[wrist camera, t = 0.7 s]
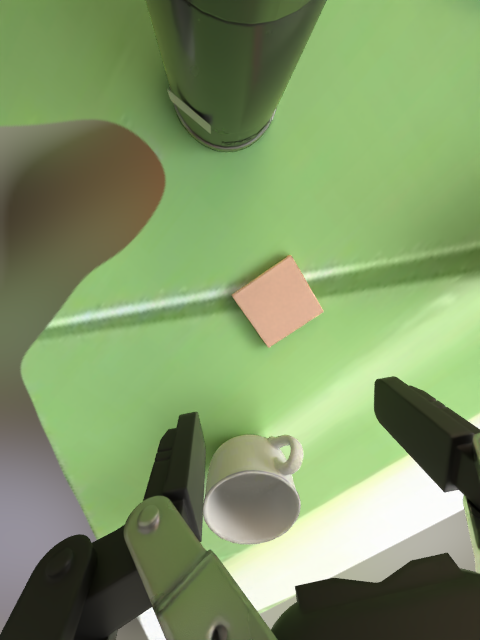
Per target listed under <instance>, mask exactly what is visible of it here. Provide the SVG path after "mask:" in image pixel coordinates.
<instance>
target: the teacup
mask: <svg viewBox="0 0 480 640" xmlns="http://www.w3.org/2000/svg"><path fill="white" fill-rule="evenodd" d="M286 445H290V446H291V453H290V456H289V459H288V460H286V458H285V456H284V454H283V452H282V451H281V449H280V448H281V447H283V446H286ZM302 461H303V448H302V445H301V443H300V442H299V441H298V440H297V439H296V438H294V437H292V436H289V435H282V436H278V437H273V436H271V437H269V438H268V439H267V438H265V437H262V436H259V435H251V434H249V435H240V436H236V437H233V438H231V439H229V440H227V441H226V442H225V443H223V444H222V445H221V446H220V447H219V448H218V449H217V450H216V452H215V453H214V455H213V457H212V459H211V462H210V465H209V469H208V475H207V483H206V493H205V499H204V503H203V516H204V520H205V522H206V524H207V525H208V527H209V528H210V529H211V530H212V531H213V532H214V533H215V534H216V535H218V536H219V537H220V538H222V539H225V540H227V541H230V542H233V543H238V544H258V543H263V542H268V541H270V540H273V539H275V538H277V537H279V536H281V535H283V534H284V533H286V532H287V531H288V530H289V529H290V528H291V527H292V526H293V524H294V523H295V522H296V520H297V518H298V516H299V513H300V506H301V505H300V498H299V495H298V492H297V491H296V489H295V485H294V481H293V478H292V475H291V474H293V473H295V472H296V471H297V470H298V469H299V468H300V466H301V464H302Z"/></svg>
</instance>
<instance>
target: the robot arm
mask: <svg viewBox="0 0 480 640" xmlns="http://www.w3.org/2000/svg"><path fill="white" fill-rule="evenodd" d="M145 1H146V5H147V8H148V12H149V16H150V19H151V23H152V26H153V30H154V33H155V37H156V40H157V44H158V47H159V51H160V54H161V58H162V61H163V65H164V68H165V72H166V76H167V79H168V83H169V88H170V91H169V90H168V89H167V91H168V94H169V97H170V100H171V101H172V102H173V104H174V107H175V110H176V113H177V115H178V117H179V119H180V121H181V123H182V124H183V126H184V127H185V129H186V130H187V131H188V132H189V133H190V134H191V136H192V137H193V138H195V139H196V140H197V141H198V142H200V143H201V144H203V145H204V146H206V147H208V148H210V149H213V150H217V151H222V152H233V151H238V150H242V149H244V148H247V147H249V146H250V145H252V144H253V143H255V142H256V141H257V140H258V139H259V138H260V137H261V136H262V135H263V134H264V133H265V131H266V130H267V128H268V127H269V125H270V123H271V121H272V119H273V116H274V114H275V111H276V109H277V105H278V103H279V101H280V99H281V97H282V95H283V93H284V91H285V89H286V86H287V84H288V82H289V80H290V78H291V76H292V74H293V71H294V69H295V67H296V65H297V63H298V61H299V59H300V56H301V54H302V52H303V50H304V48H305V46H306V44H307V41H308V39H309V37H310V35H311V33H312V31H313V29H314V26H315V24H316V22H317V20H318V18H319V16H320V14H321V11H322V9H323V7H324V5H325V3H326V1H327V0H145ZM374 411H375V415H376V417H377V419H378V421H379V422H380V424H381V425H382V426H383V427H384V428H385V429H386V430H387V431H388V432H389V433H390V434H391V435H392V437H393V438H394V439H395V440H396V441H397V442H398V443H399V444H400V445H401V446H402V447H403V448H404V449H405V451H406V452H407V453H408V454H409V455H410V456H411V457H412V458H413V459H414V460H415V461H416V462H417V463H418V464H419V466H420V467H421V468H422V469H423V470H424V471H425V472H426V473H427V474H428V475H429V476H430V477H431V478H432V480H433V481H434V482H435V483H436V484H437V485H438V486H439V487H440V488H441V489H442V490H443V491H444V492H449V491H454V490H460V491H461V492H462V493H463V494H464V497H463V505H464V510H465V514H466V519H467V524H468V529H469V534H470V538H471V543H472V548H473V553H474V558H475V568H476V572H473V571H470V570H465V569H460V568H459V567H458V566H457V564H456V563H455V562H454V561H453V559H452V558H451V557H450V555H449V554H448V553H444V554H440V555H435V556H431V557H426V558H421V559H417V560H412V561H410V562H409V563H407V564H406V565H404V566H403V567H402V568H400V569H399V570H397V571H396V572H394V573H393V574H392V575H390V576H389V577H387V578H386V579H385V580H383V581H382V582H379V583H373V582H364V581H356V580H348V579H339V578H330V579H326V580H321V581H317V582H312V583H308V584H303V585H298V586H295V590H296V597H297V602H296V603H295V604H293V605H292V606H290V607H289V608H288V609H287V610H286V611H285V612H284V613H283V614H282V615H281V617H280V618H279V619H278V620H277V621H276V623H275V624H274V625H273V627H272V629H271V630H270V629H269V627H268V626H267V624H266V623H265V622H264V621H263V619H262V618H261V616H260V615H259V613H258V612H257V611H256V609H255V608H254V606H253V605H252V604H251V602H250V601H249V600H248V598H247V597H246V595H245V594H244V593H243V591H242V590H241V589H240V587H239V586H238V584H237V583H236V582H235V580H234V579H233V578H232V576H231V575H230V574H229V572H228V571H227V569H226V568H225V567H224V565H223V564H222V563H221V561H220V560H219V558H218V557H217V556H216V555H215V554H214V552H213V551H211V550H208V551H206V550H205V549H204V548H203V546H202V545H201V543H200V542H201V540H202V520H203V500H204V479H205V459H206V450H205V441H204V437H203V432H202V428H201V424H200V419H199V415H198V413H197V412H192V413H187V414H181V415H180V416H179V419H178V424H177V428H174V429H169V430H168V431H167V432H166V433H165V435H164V436H163V437H162V439H161V440H160V444H159V447H158V453H157V454H156V458H155V462H154V465H153V468H152V472H151V475H150V479H149V482H148V485H147V489H146V492H145V496H144V499H143V502H141V503H140V504H139V505H138V506H137V507H136V508H135V509H134V510H133V511H132V512H131V514H130V515H129V517H128V519H127V521H126V523H125V525H123V526H122V527H121V528H119V529H117V530H116V531H114V532H112V533H110V534H108V535H106V536H104V537H102V538H100V539H98V540H97V541H95V542H93V543H91V541H90V539H89V538H88V537H87V536H85V535H74V536H71V537H68V538H66V539H64V540H63V541H61V542H60V543H58V544H57V545H55V546H54V547H53V548H52V549H51V550H50V551H49V552H48V553H47V554H46V555H45V556H44V557H43V558H42V559H41V560H40V562H39V563H38V565H37V566H36V567H35V569H34V571H33V573H32V574H31V576H30V578H29V580H28V582H27V584H26V586H25V588H24V590H23V592H22V594H21V596H20V598H19V599H18V601H17V603H16V605H15V607H14V609H13V611H12V613H11V615H10V617H9V619H8V621H7V623H6V625H5V626H4V628H3V630H2V632H1V634H0V640H116V636H117V631H118V629H119V628H121V627H122V626H124V625H125V624H127V623H128V622H130V621H131V620H133V619H134V618H136V617H137V616H139V615H140V614H142V613H143V612H145V611H146V610H148V609H149V608H151V607H153V610H154V612H155V614H156V617H157V619H158V621H159V624H160V626H161V629H162V631H163V633H164V636H165V638H166V640H480V429H478V428H477V427H475V426H474V425H472V424H471V423H470V422H468V421H467V420H465V419H464V418H462V417H461V416H459V415H458V414H457V413H455V412H454V411H452V410H451V409H449V408H448V407H445V405H444V404H442V403H441V402H439V401H436V399H435V398H433V397H432V396H431V395H429V394H428V393H426V392H425V391H423V390H420V389H418V388H415V387H413V386H408V385H407V384H405V383H404V382H403V381H401V380H400V379H398V378H397V377H394V376H393V377H387V378H382V379H377V380H376V381H375V389H374Z"/></svg>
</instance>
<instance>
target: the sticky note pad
mask: <svg viewBox="0 0 480 640" xmlns="http://www.w3.org/2000/svg"><path fill="white" fill-rule="evenodd" d="M232 297H233V298H234V300H235V301H236V303H237V304H238V305H239V307H240V308H241V310H242V311H243V312H244V314H245V315H246V317H247V318H248V320H249V321H250V322H251V324H252V325H253V327H254V328H255V329H256V331H257V332H258V334H259V335H260V337H261V338H262V339H263V341H264V342H265V344H266V345H267V346H268V348H269V347H271V346H272V345H274V344H275V343H277V342H278V341H280V340H281V339H283V338H285V337H286V336H288V335H289V334H291V333H292V332H294V331H295V330H297V329H298V328H300V327H301V326H303V325H304V324H306V323H307V322H309V321H310V320H312V319H314V318H315V317H317V316H318V315H320V314H321V313H323V312H324V311H323V309H322V308H321V306H320V304H319V302H318V301H317V299H316V297H315V295H314V294H313V292H312V290H311V288H310V287H309V285H308V283H307V282H306V280H305V278H304V276H303V275H302V273H301V271H300V269H299V268H298V266H297V264H296V263H295V261H294V259H293V257H292V256H291V255H288V256H287V257H285V258H284V259H283V260H281V261H280V262H278V263H277V264H275V265H274V266H272V267H271V268H269V269H268V270H267V271H265V272H264V273H262V274H261V275H259V276H258V277H256V278H255V279H254V280H252V281H251V282H249V283H248V284H246V285H245V286H243V287H242V288H241V289H239V290H238V291H236V292H235V293H233V294H232Z"/></svg>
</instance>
